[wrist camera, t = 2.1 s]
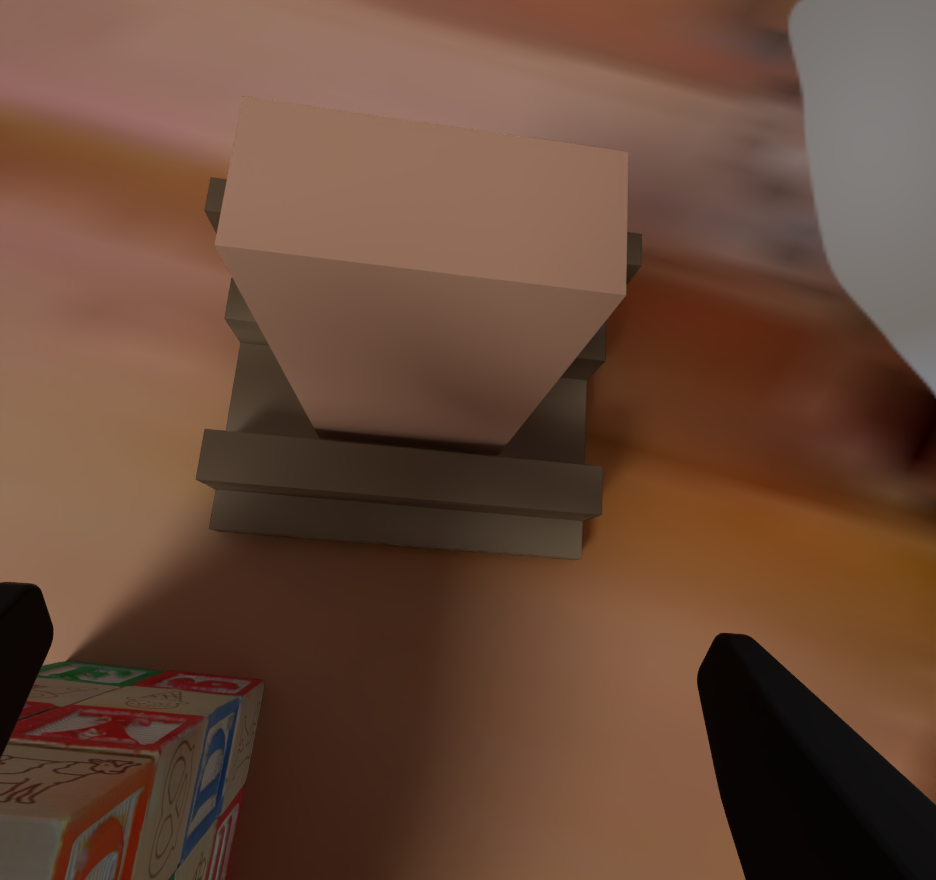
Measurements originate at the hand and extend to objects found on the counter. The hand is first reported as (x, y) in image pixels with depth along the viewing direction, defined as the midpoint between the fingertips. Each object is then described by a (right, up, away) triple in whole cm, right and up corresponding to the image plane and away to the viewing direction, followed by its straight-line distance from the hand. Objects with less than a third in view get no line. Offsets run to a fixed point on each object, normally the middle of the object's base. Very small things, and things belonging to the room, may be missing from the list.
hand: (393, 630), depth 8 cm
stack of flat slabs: (-1, +3, +14) cm, 14 cm away
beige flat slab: (-1, +4, +13) cm, 13 cm away
